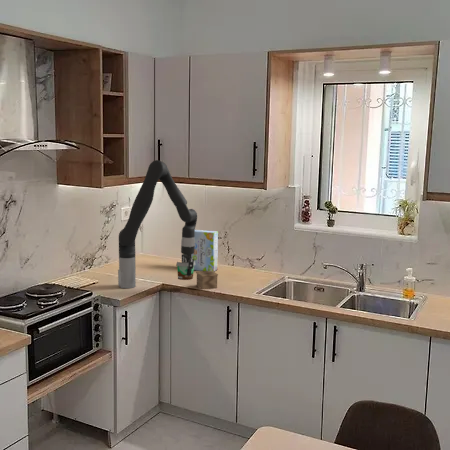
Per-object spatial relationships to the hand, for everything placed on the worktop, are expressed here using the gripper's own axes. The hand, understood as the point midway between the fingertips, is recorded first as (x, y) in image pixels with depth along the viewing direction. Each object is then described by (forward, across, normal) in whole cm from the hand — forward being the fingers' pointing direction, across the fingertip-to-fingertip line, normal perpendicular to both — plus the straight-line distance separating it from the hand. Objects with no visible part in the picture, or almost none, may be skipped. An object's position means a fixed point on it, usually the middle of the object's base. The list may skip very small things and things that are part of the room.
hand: (187, 274), depth 318 cm
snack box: (+9, -44, +25) cm, 51 cm away
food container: (+3, +1, 0) cm, 3 cm away
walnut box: (+8, -2, +13) cm, 15 cm away
